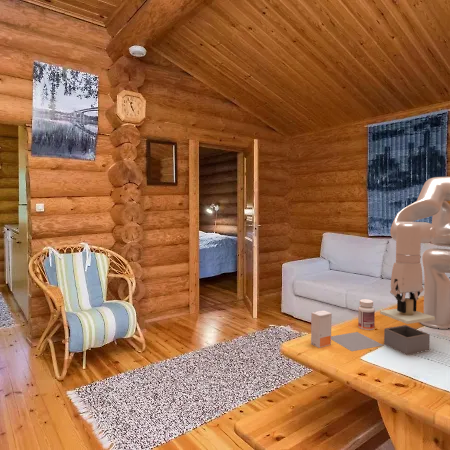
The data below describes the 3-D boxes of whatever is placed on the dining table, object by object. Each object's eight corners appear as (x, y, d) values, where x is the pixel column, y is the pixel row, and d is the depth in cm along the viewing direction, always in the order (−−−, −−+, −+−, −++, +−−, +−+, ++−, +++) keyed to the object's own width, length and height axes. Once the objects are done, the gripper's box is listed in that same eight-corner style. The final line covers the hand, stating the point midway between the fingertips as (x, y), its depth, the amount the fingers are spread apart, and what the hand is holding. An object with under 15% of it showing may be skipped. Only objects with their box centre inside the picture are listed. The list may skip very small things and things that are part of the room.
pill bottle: (377, 328, 145) (378, 301, 145) (368, 332, 142) (368, 303, 141) (364, 324, 150) (364, 297, 150) (354, 327, 147) (355, 300, 146)
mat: (357, 332, 141) (357, 332, 141) (384, 346, 128) (384, 345, 128) (327, 337, 136) (327, 336, 136) (351, 352, 123) (351, 351, 123)
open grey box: (405, 340, 132) (405, 324, 132) (429, 351, 123) (429, 334, 123) (384, 344, 129) (384, 328, 129) (406, 356, 120) (407, 338, 119)
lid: (405, 310, 133) (406, 294, 132) (434, 319, 121) (435, 302, 121) (380, 313, 129) (380, 297, 128) (407, 324, 117) (407, 305, 117)
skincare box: (318, 349, 126) (319, 315, 126) (310, 344, 130) (310, 312, 129) (331, 345, 129) (332, 313, 128) (323, 341, 133) (323, 309, 132)
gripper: (417, 256, 130) (415, 305, 131) (380, 258, 125) (379, 310, 126) (435, 259, 123) (434, 311, 124) (397, 262, 118) (396, 317, 119)
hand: (406, 310), depth 125 cm, fingers closed on lid, 4 cm apart
